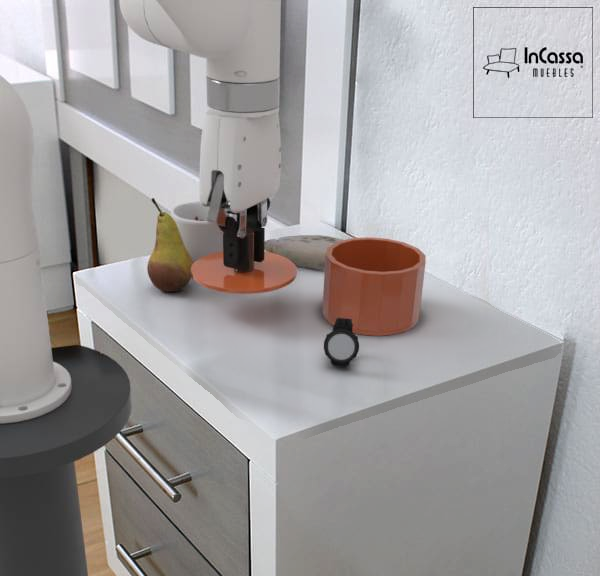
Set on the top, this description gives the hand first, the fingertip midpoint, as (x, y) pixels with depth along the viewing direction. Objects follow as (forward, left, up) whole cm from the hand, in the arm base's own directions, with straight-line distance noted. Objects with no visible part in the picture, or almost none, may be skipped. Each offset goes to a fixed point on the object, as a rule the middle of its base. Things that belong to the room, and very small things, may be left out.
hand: (244, 262), depth 103 cm
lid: (0, 0, -1) cm, 1 cm away
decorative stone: (+19, 0, -6) cm, 20 cm away
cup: (+9, +10, -6) cm, 15 cm away
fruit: (+1, +11, -6) cm, 13 cm away
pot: (+8, -13, -6) cm, 16 cm away
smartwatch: (-5, -16, -6) cm, 18 cm away
